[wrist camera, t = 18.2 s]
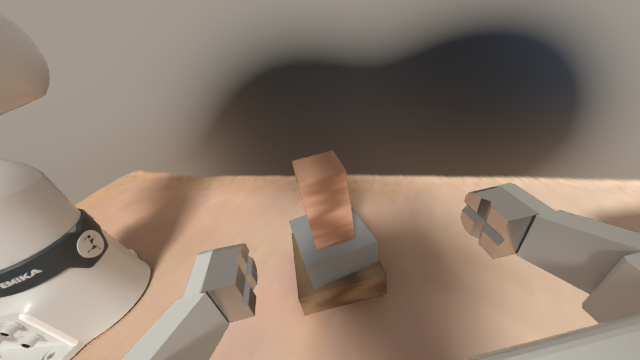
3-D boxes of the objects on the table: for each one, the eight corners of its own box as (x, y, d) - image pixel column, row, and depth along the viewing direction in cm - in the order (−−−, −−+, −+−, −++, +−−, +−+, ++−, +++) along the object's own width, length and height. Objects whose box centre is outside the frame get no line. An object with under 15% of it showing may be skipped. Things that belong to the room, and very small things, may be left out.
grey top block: (314, 290, 29) (307, 270, 27) (295, 240, 36) (289, 221, 34) (378, 261, 31) (377, 240, 29) (348, 219, 38) (345, 200, 36)
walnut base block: (305, 317, 31) (298, 298, 28) (297, 251, 40) (291, 233, 38) (386, 295, 32) (386, 274, 29) (360, 235, 41) (358, 216, 38)
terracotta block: (316, 250, 29) (297, 183, 23) (309, 223, 33) (291, 161, 28) (355, 238, 29) (345, 169, 24) (343, 213, 33) (332, 150, 28)
